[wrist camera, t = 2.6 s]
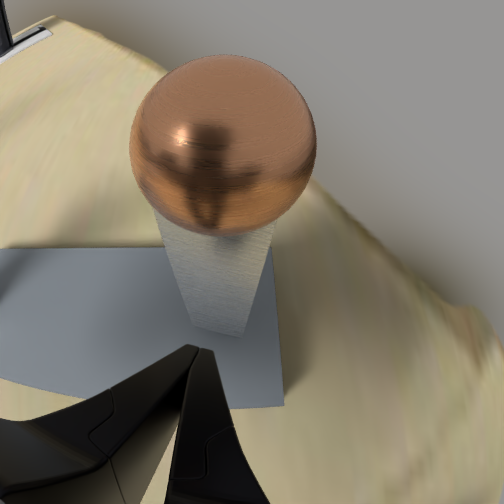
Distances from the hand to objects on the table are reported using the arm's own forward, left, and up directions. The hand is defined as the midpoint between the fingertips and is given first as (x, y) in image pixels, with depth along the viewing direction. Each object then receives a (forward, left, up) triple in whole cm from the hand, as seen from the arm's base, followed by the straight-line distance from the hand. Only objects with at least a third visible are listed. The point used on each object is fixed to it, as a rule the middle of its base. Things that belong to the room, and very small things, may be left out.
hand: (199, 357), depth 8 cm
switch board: (-4, +7, -8) cm, 12 cm away
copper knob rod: (+2, +1, -6) cm, 7 cm away
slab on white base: (+8, +101, -9) cm, 101 cm away
